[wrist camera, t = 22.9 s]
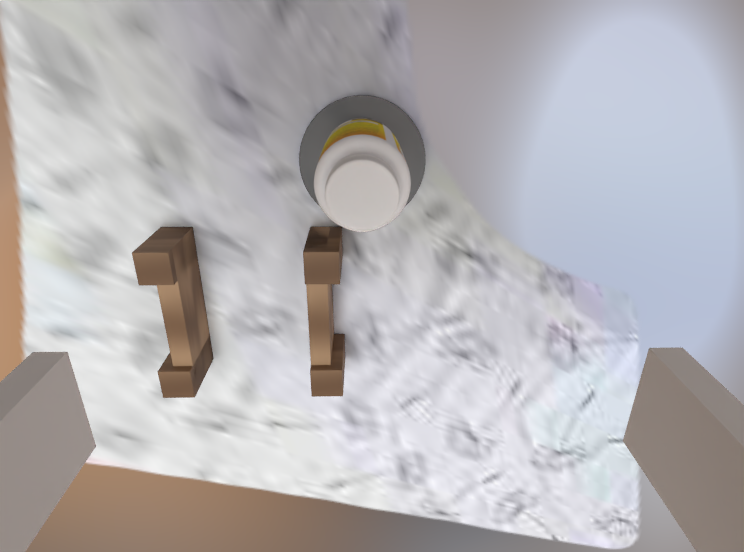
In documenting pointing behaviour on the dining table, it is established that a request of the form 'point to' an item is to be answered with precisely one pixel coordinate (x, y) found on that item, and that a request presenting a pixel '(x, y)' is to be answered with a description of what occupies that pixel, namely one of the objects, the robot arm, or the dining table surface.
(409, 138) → the slate coaster
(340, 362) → the walnut channel
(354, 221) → the supplement bottle
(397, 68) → the dining table surface
